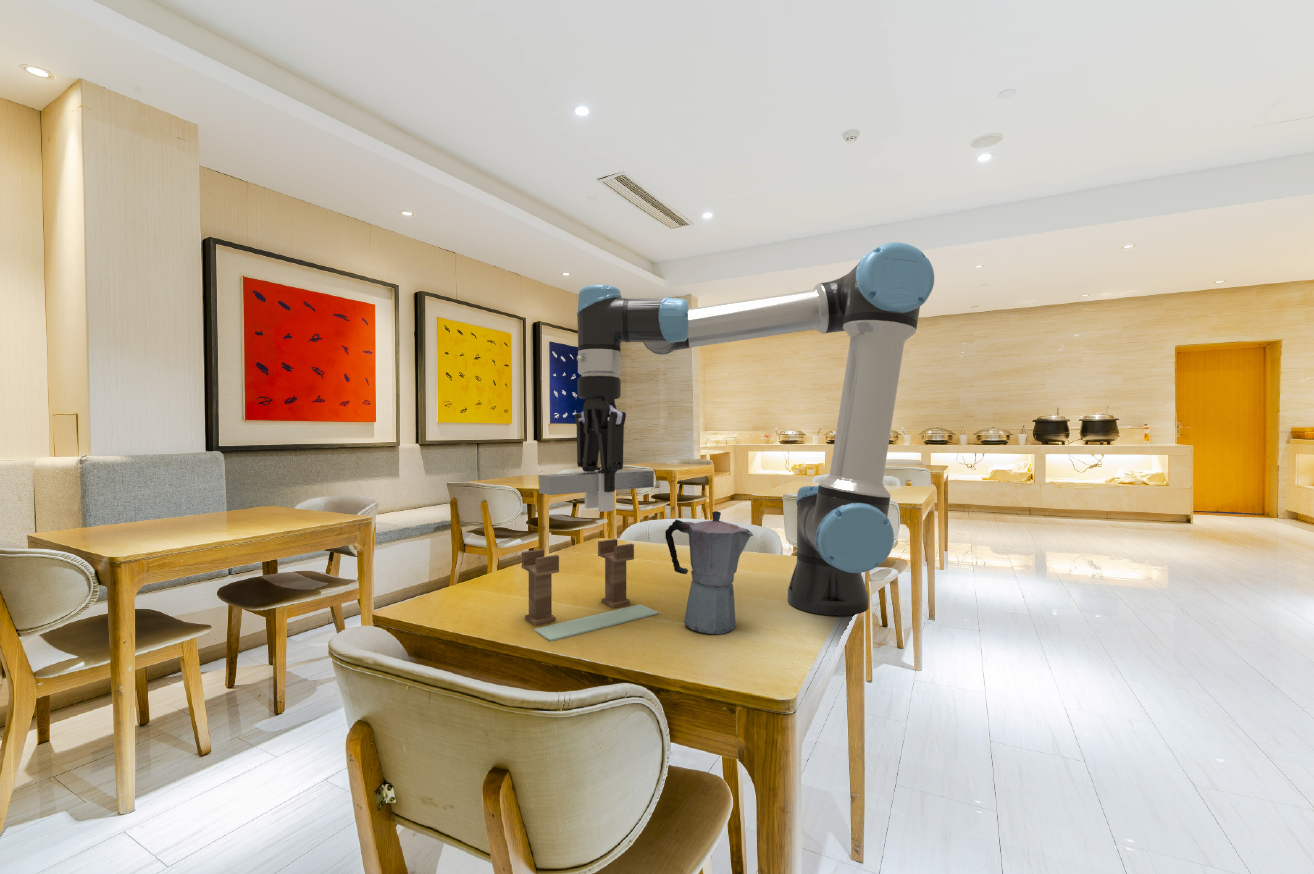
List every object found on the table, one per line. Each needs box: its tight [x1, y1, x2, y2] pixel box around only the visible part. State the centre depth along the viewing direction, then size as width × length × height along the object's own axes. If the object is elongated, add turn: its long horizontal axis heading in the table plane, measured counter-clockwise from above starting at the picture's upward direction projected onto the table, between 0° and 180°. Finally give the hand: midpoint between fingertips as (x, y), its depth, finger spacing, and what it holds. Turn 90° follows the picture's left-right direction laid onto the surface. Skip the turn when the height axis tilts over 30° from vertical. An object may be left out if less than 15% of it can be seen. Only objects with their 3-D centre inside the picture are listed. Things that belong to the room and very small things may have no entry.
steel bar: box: [538, 469, 655, 496], centre depth 97 cm, size 4×21×3 cm, turn 127°
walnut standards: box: [521, 538, 635, 627], centre depth 103 cm, size 7×20×12 cm, turn 127°
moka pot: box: [664, 510, 754, 635], centre depth 95 cm, size 10×15×20 cm, turn 78°
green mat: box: [533, 603, 660, 642], centre depth 98 cm, size 6×22×1 cm, turn 127°
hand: (599, 508), depth 97 cm, fingers closed on steel bar, 4 cm apart
